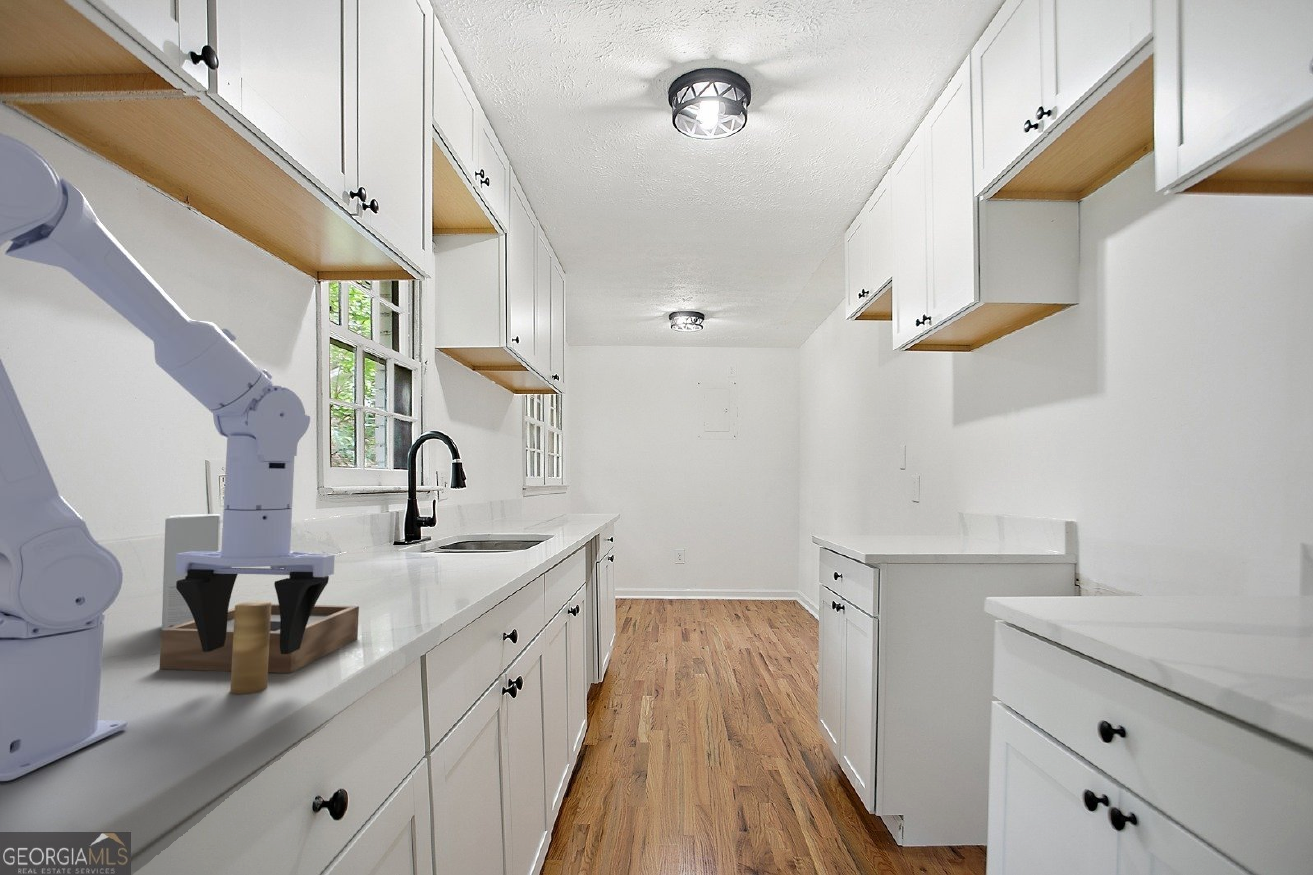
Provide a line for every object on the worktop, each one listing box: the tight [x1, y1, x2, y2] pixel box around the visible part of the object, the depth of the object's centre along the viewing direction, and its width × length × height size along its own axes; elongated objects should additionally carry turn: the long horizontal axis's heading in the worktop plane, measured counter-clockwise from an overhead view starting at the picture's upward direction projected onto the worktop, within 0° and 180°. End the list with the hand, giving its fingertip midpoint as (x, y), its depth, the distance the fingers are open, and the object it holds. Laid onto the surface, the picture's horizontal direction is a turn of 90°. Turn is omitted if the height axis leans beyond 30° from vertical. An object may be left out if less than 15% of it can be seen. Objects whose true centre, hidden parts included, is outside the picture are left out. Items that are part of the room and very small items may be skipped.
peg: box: [229, 601, 272, 695], centre depth 62 cm, size 3×3×8 cm
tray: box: [158, 603, 360, 674], centre depth 75 cm, size 14×14×4 cm
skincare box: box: [161, 513, 221, 631], centre depth 85 cm, size 8×6×15 cm
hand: (251, 650), depth 62 cm, fingers open, 7 cm apart
